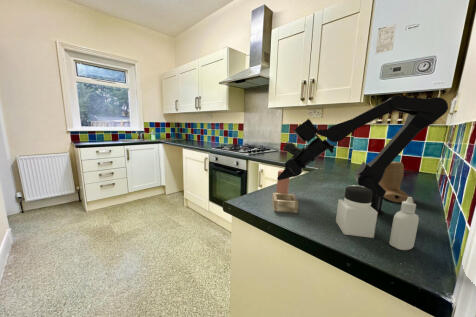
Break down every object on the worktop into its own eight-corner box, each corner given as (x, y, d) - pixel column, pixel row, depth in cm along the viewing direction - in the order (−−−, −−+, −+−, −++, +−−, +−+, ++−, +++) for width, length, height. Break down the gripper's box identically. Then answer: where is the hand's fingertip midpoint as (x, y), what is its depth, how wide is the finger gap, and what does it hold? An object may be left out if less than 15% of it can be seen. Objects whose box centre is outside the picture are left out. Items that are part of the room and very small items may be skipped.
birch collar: (293, 203, 69) (294, 194, 68) (297, 212, 61) (298, 202, 60) (272, 202, 69) (272, 192, 69) (273, 210, 62) (274, 200, 61)
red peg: (288, 194, 78) (290, 170, 76) (286, 197, 74) (288, 172, 73) (278, 192, 79) (280, 169, 78) (276, 195, 76) (278, 171, 74)
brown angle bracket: (368, 189, 88) (373, 157, 85) (401, 194, 83) (407, 160, 80) (374, 200, 74) (380, 162, 72) (414, 206, 69) (421, 166, 67)
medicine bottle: (374, 238, 48) (381, 193, 46) (343, 234, 49) (349, 190, 47) (362, 224, 54) (367, 184, 53) (335, 221, 56) (340, 182, 54)
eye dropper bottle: (382, 238, 48) (390, 193, 46) (408, 241, 47) (417, 195, 45) (393, 249, 43) (402, 199, 41) (421, 253, 42) (432, 202, 40)
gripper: (300, 134, 80) (272, 158, 86) (293, 135, 63) (260, 165, 69) (318, 154, 78) (289, 177, 84) (317, 161, 61) (280, 189, 67)
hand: (280, 176), depth 76 cm, fingers open, 9 cm apart
